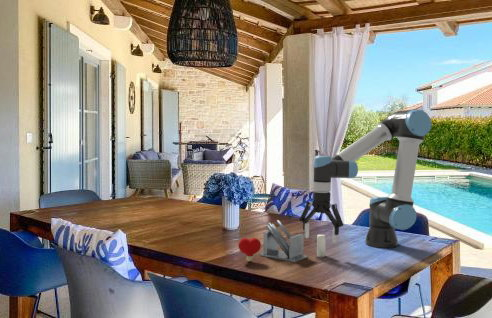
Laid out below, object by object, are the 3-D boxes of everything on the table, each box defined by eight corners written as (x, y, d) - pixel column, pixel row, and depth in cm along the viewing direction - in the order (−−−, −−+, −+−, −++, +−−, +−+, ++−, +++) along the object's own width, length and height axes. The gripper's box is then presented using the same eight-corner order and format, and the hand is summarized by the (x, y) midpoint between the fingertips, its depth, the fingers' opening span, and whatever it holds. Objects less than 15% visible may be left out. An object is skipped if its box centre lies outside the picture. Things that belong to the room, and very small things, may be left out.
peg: (326, 255, 214) (326, 235, 213) (322, 257, 211) (323, 236, 210) (319, 254, 216) (319, 234, 215) (315, 255, 213) (315, 235, 212)
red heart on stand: (260, 259, 207) (260, 236, 206) (261, 264, 200) (261, 239, 199) (238, 259, 206) (238, 236, 206) (238, 264, 199) (238, 240, 199)
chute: (307, 257, 211) (307, 222, 210) (295, 262, 203) (295, 226, 202) (272, 251, 221) (272, 218, 220) (259, 255, 213) (260, 221, 212)
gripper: (352, 193, 207) (350, 242, 208) (301, 188, 222) (299, 234, 223) (344, 195, 201) (342, 245, 202) (292, 189, 216) (291, 237, 217)
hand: (320, 240), depth 213 cm, fingers open, 13 cm apart
